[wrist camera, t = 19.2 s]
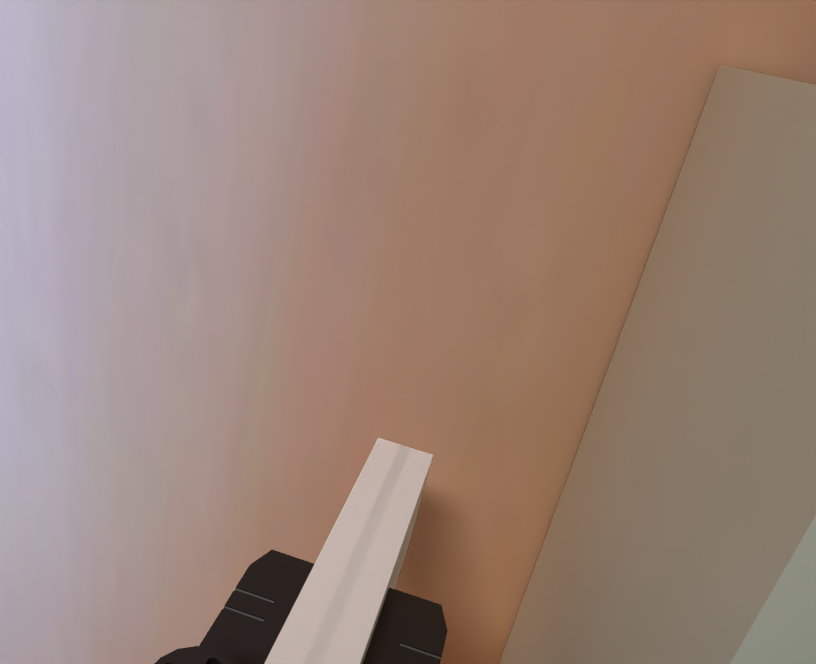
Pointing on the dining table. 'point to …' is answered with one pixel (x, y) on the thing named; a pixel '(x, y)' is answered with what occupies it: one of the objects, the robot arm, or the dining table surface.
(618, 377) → the drawer
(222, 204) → the dining table surface
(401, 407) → the dining table surface
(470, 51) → the dining table surface
